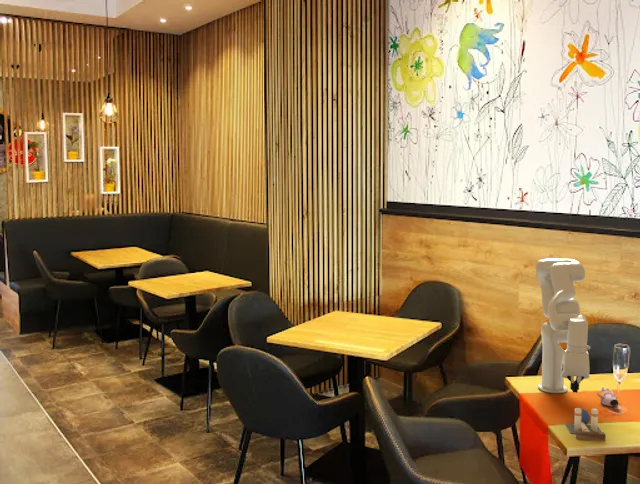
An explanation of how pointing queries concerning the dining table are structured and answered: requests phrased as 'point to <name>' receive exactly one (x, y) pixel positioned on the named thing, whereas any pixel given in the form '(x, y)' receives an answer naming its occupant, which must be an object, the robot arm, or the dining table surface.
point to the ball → (584, 417)
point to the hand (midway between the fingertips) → (574, 391)
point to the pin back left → (594, 420)
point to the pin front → (584, 427)
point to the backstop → (590, 435)
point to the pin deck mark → (571, 429)
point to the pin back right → (577, 419)
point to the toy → (608, 398)
